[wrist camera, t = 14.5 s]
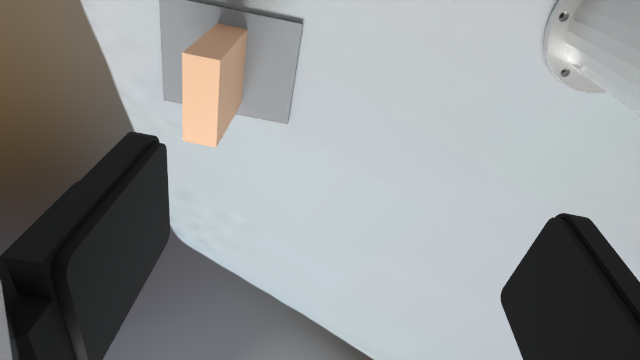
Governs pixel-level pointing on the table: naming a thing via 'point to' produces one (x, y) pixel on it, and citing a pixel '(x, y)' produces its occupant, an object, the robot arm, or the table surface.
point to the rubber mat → (260, 60)
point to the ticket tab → (212, 83)
